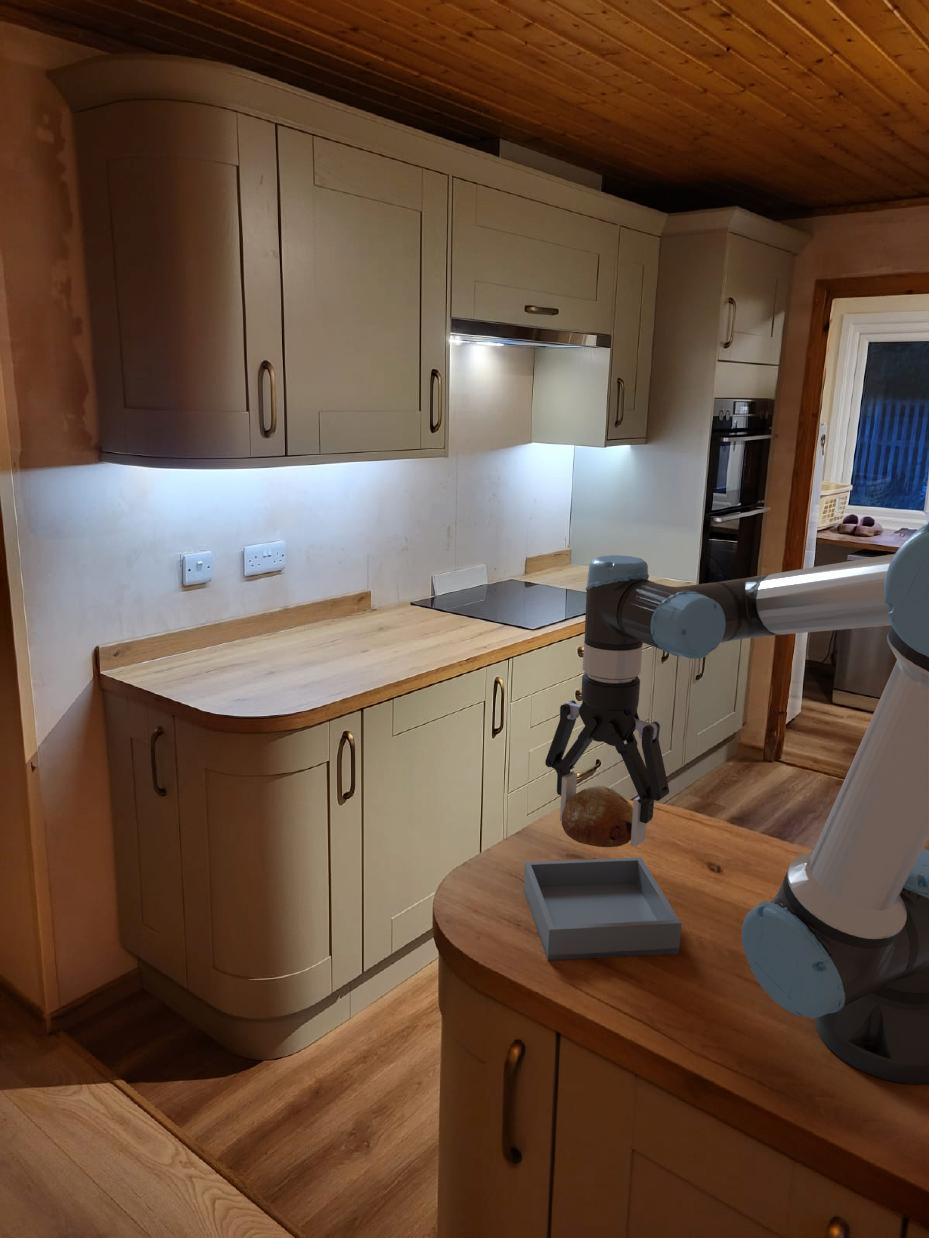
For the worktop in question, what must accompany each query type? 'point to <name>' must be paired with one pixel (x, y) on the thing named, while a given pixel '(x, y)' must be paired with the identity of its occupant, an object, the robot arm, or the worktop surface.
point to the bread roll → (598, 817)
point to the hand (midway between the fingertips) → (601, 829)
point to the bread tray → (600, 909)
